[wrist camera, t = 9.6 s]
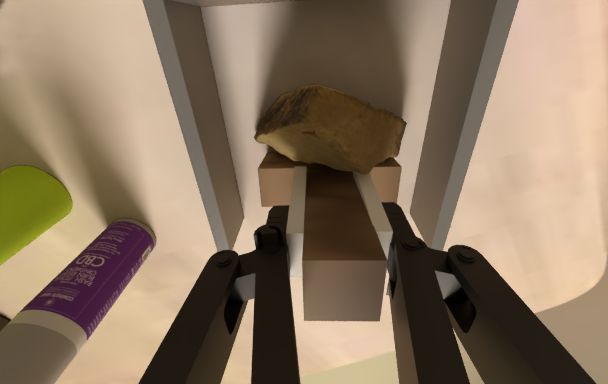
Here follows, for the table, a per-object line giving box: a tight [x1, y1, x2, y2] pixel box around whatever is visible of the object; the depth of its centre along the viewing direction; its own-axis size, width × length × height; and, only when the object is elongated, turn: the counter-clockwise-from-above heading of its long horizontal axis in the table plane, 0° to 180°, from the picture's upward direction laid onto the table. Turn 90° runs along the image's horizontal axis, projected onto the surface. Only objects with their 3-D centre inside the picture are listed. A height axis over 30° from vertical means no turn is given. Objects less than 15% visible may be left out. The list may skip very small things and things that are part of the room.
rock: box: [254, 84, 407, 175], centre depth 18 cm, size 11×9×10 cm
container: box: [0, 218, 156, 384], centre depth 21 cm, size 5×5×15 cm
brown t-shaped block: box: [258, 153, 401, 321], centre depth 16 cm, size 10×3×14 cm, turn 92°
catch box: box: [143, 0, 519, 252], centre depth 19 cm, size 18×18×5 cm
